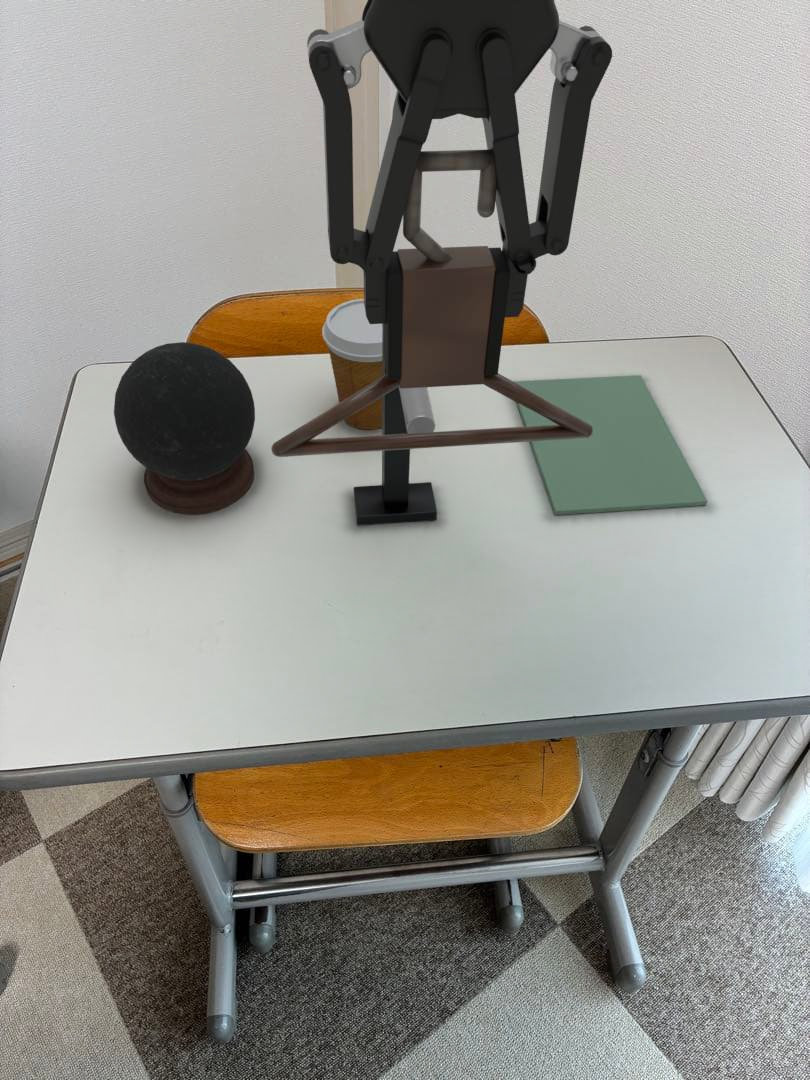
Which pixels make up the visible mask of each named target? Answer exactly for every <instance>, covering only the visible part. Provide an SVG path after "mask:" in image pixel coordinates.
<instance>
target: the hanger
mask: <svg viewBox="0 0 810 1080" xmlns="http://www.w3.org/2000/svg"><path fill="white" fill-rule="evenodd" d="M462 171H479V180H478V181H479V182H478V192H477V204H476V211H477V213H478V215H479V216H480V217H481V218H484V219H485V218H487V219H488V218H490V217H492V216H493V214H494V212H495V209H496V191H497V183H496V175H495V168H494V161H493V156H492V152H491V150H490V149H489V150H488V149H457V150H456V149H455V150H452V149H451V150H421V152H420V156H419V159H418V163H417V167H416V170H415V174H414V177H413V181H412V185H411V188H410V192H409V195H408V199H407V203H406V206H405V210H404V213H403V217H402V234H403V237H404V238H405V240H407V241H408V242H409V243H410V244H411V245H412V246H413V247H414V248H398V249H397V250H396V251H397V255H398V259H399V263H400V268H401V272H402V275H403V296H402V348H401V380H393V381H388V378H387V374H386V375H385V376H383V377H381V378H380V379H378V380H376V381H375V382H373V383H371V384H370V385H368V386H367V387H365V388H363V389H362V390H360V391H358V392H357V393H355V394H353V395H352V396H350V397H349V398H347V399H345V400H344V401H342V402H340V403H339V402H338V403H337V404H335V405H334V406H332V407H330V408H329V409H327V410H325V411H324V412H322V413H321V414H319V415H317V416H316V417H314V418H312V419H311V420H309V421H308V422H305V423H304V424H302V425H301V426H300V427H297V428H296V429H295V430H293V431H292V432H290V433H288V434H286V435H285V436H283V437H281V438H280V439H278V440H276V441H275V442H273V444H272V445H271V453H272V454H273V455H274V456H275V457H276V458H288V457H302V456H318V455H320V456H321V455H334V454H335V455H336V454H337V455H338V454H350V453H351V454H352V453H366V452H367V453H368V452H380V451H381V452H382V451H386V450H402V449H410V450H415V449H417V450H419V449H432V448H433V449H434V448H450V447H464V446H466V447H467V446H482V445H497V444H498V445H499V444H514V443H530V442H532V441H548V440H564V439H581V438H588V437H590V436H591V435H592V433H593V427H592V426H591V425H590V424H589V423H587V422H585V421H583V420H581V419H580V418H578V417H576V416H574V415H572V414H571V413H569V412H567V411H565V410H563V409H562V408H560V407H558V406H556V405H554V404H553V403H551V402H549V401H547V400H545V399H544V398H542V397H540V396H538V395H536V394H535V393H533V392H531V391H529V390H527V389H526V388H524V387H522V386H520V385H518V384H517V383H515V382H514V381H513V380H511V379H509V378H507V376H504V375H502V374H500V373H499V372H498V375H486V376H485V374H484V373H485V364H486V355H487V346H488V337H489V328H490V319H491V309H492V300H493V291H494V282H495V273H496V266H495V263H494V260H493V258H492V255H491V253H490V250H489V248H490V247H489V246H488V245H474V246H450V247H449V246H447V247H446V246H445V247H442V245H440V244H439V243H438V242H437V241H436V240H435V239H434V238H432V237H431V236H430V235H429V234H428V233H427V232H426V231H425V230H424V229H423V228H422V227H421V223H422V222H421V221H422V220H421V219H422V195H423V194H422V190H423V173H428V172H430V173H431V172H433V173H434V172H462ZM477 385H478V386H479V385H484V386H485V387H487V388H489V389H491V390H493V391H495V392H497V393H499V394H500V395H502V396H504V397H506V398H507V399H509V400H511V401H513V402H515V403H516V404H517V403H519V404H521V405H523V406H524V407H526V408H528V409H530V410H532V411H534V412H535V413H537V414H539V415H541V416H543V417H545V418H547V419H548V420H550V421H552V422H554V423H556V424H558V425H542V426H525V425H524V426H509V427H495V428H493V427H492V428H477V429H461V430H459V429H458V430H445V431H443V430H441V431H434V432H425V433H408V434H391V435H382V434H377V435H362V436H361V435H360V436H359V435H358V436H344V437H343V436H341V437H327V438H325V437H324V438H316V437H318V436H319V435H321V434H322V433H325V432H326V431H328V430H329V429H331V428H333V427H335V426H336V425H337V424H339V423H341V422H343V421H345V420H344V419H346V418H347V417H349V416H351V415H352V414H354V413H356V412H357V411H359V410H361V409H362V408H364V407H366V406H367V405H369V404H371V403H372V402H374V401H376V400H377V399H379V398H381V397H382V396H384V395H386V394H387V393H389V392H391V391H392V390H394V389H396V388H397V387H399V386H400V388H401V389H404V388H422V387H427V388H437V387H456V386H457V387H458V386H477Z"/></svg>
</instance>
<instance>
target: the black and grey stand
mask: <svg viewBox="0 0 810 1080" xmlns="http://www.w3.org/2000/svg"><path fill="white" fill-rule="evenodd" d="M386 374H387V372H386V366H385V360H384V355H383V324H382V377H383V376H385V375H386ZM435 429H436V423H435V417H434V413H433V409H432V404H431V398H430V395H429V391H428V387H422V388H404V389H401V388H400V386H399V387H397V388H396V389H394V390H392V391H391V392H389V393H387V394H386V395H384V396H382V427H381V435H391V434H408V433H425V432H435ZM410 462H411V449H402V450H386V451H381V484H378V485H361V486H353V501H354V509H355V510H354V511H355V520H356V521H355V522H356V526H365V525H381V524H394V523H395V524H396V523H411V522H427V521H437V519H438V518H437V517H438V510H437V504H436V499H435V495H434V494H435V493H434V490H433V483H432V482H431V481H427V482H411V483H410V465H411V463H410Z"/></svg>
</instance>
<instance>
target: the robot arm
mask: <svg viewBox="0 0 810 1080" xmlns="http://www.w3.org/2000/svg"><path fill="white" fill-rule="evenodd" d="M556 5H557V4H556V3H555V0H367V1H366V3H365V5H364V8H363V11H362V14H361V15H362V16H361V20H359V21H356V22H354V23H351V24H350V25H346V26H344V27H342V28H340V29H337V30H335V31H333V32H330V33H329V31H327V30H326V29H321V28H320V29H315V30H313V31H312V32H310V34H309V36H308V38H307V41H306V46H307V57H308V64H309V68H310V71H311V74H312V77H313V79H314V82H315V84H316V87H317V90H318V92H319V95H320V98H321V99H322V111H323V112H322V113H323V137H324V138H323V139H324V140H323V141H324V164H325V166H324V169H325V190H326V192H325V194H326V219H327V221H326V222H327V237H328V245H329V254H330V258H331V259H332V261H333V262H334V263H336V264H338V265H346V264H348V263H350V264H353V265H356V266H358V267H360V268H361V269H362V270H363V271H362V272H363V275H362V276H363V299H364V306H365V312H366V317H367V319H368V321H369V323H370V324H383V355H384V360H385V366H386V372H387V378H388V381H393V380H401V348H402V296H403V275H402V272H401V268H400V263H399V259H398V255H397V250H396V251H394V249H395V245H396V243H397V239H398V235H399V231H400V227H401V224H402V222H403V213H404V210H405V206H406V203H407V199H408V195H409V192H410V188H411V185H412V181H413V177H414V174H415V170H416V167H417V163H418V159H419V156H420V152H421V151H422V149H423V145H424V144H425V143H426V141H427V140H428V136H429V134H430V129H431V125H432V122H433V120H443V119H446V118H450V117H453V116H455V115H463V116H466V117H470V118H474V119H481V120H482V123H483V130H484V137H485V142H486V143H485V144H486V148H487V149H486V150H489V149H490V150H491V152H492V156H493V161H494V168H495V175H496V183H497V191H496V201H495V208H496V214H497V220H498V226H499V231H500V239H501V242H502V247H488V248H489V250H490V253H491V255H492V258H493V260H494V263H495V266H496V273H495V282H494V291H493V300H492V309H491V319H490V328H489V337H488V346H487V355H486V364H485V373H484V374H485V376H486V375H498V373H499V368H500V359H501V352H502V344H503V336H504V335H503V334H504V327H505V320H506V318H519V316H520V315H521V313H522V311H523V310H524V304H525V297H526V290H527V283H528V276H529V275H530V274H531V273H533V272H534V271H535V269H536V267H537V260H536V259H538V258H540V257H542V256H546V255H548V254H549V255H550V256H559V255H562V254H563V253H565V251H566V250H567V249H568V246H569V243H570V238H571V237H570V236H571V230H572V224H573V219H574V212H575V206H576V200H577V194H578V187H579V181H580V175H581V170H582V169H581V168H582V163H583V157H584V151H585V144H586V138H587V132H588V126H589V120H590V113H591V108H592V102H593V99H594V97H595V95H596V93H597V91H598V88H599V87H600V84H601V83H602V80H603V79H604V76H605V75H606V72H607V70H608V68H609V66H610V63H611V62H612V58H613V49H612V47H611V45H610V44H609V43H608V42H607V40H606V39H604V37H603V36H602V35H601V34H600V33H599V32H598V31H597V30H596V29H594V27H593V26H591V25H584V26H581V27H577V26H574V25H571V24H569V23H568V22H567V23H566V22H565V21H562V20H560V16H559V12H558V9H557V6H556ZM549 50H550V51H551V57H550V63H549V69H550V71H551V73H552V74H553V76H554V77H555V78H554V81H553V87H552V92H551V99H550V107H549V114H548V120H547V121H548V122H547V129H546V138H545V145H544V153H543V161H542V168H541V176H540V184H539V191H538V199H537V206H536V207H537V208H536V216H535V221H533V222H531V223H530V218H529V212H528V203H527V196H526V188H525V180H524V172H523V163H522V155H521V148H520V147H521V146H520V140H519V139H520V138H519V135H520V126H519V116H518V110H517V102H516V101H517V100H516V94H517V92H518V91H519V89H520V88H521V87H522V86H523V84H524V83H525V81H526V80H527V79H528V78H529V76H530V75H531V73H533V71H534V70H535V68H536V67H537V66H538V64H539V63H540V61H541V60H542V59H543V58H544V56H545V55H546V53H548V51H549ZM369 52H372V54H373V55H374V56H375V58H376V60H377V61H378V63H379V65H380V66H381V68H382V69H383V70H384V72H385V74H386V75H387V77H388V78H389V79H390V81H391V83H392V84H393V87H395V89H396V94H395V98H394V102H393V107H392V116H391V122H390V127H389V131H388V135H387V139H386V143H385V147H384V151H383V154H382V159H381V163H380V166H379V172H378V175H377V179H376V182H375V183H376V184H375V187H374V191H373V194H372V195H373V196H372V200H371V204H370V207H369V211H368V216H367V220H366V224H365V227H364V228H365V229H364V230H360V229H357V228H355V226H354V225H355V222H354V221H355V219H354V218H355V217H354V216H355V215H354V211H355V210H354V151H353V149H354V148H353V147H354V146H353V144H354V143H353V142H354V141H353V110H352V101H351V97H350V92H349V90H350V89H352V88H355V87H356V86H357V85H358V84H359V83H360V81H361V79H362V62H363V59H364V57H365V56H366V55H367V54H369Z"/></svg>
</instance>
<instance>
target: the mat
mask: <svg viewBox="0 0 810 1080" xmlns="http://www.w3.org/2000/svg"><path fill="white" fill-rule="evenodd" d="M513 382H515V383H517V384H518V385H520V386H522V387H524V388H526V389H527V390H529V391H531V392H533V393H535V394H536V395H538V396H540V397H542V398H544V399H545V400H547V401H549V402H551V403H553V404H554V405H556V406H558V407H560V408H562V409H563V410H565V411H567V412H569V413H571V414H572V415H574V416H576V417H578V418H580V419H581V420H583V421H585V422H587V423H589V424H590V425H591V426H592V427H593V433H592V435H591V436H590V437H588V438H581V439H564V440H548V441H532V442H529V443H530V446H531V449H532V451H533V455H534V457H535V461H536V464H537V467H538V469H539V472H540V475H541V478H542V481H543V484H544V487H545V490H546V493H547V496H548V499H549V502H550V505H551V507H552V510H553V513H554V516H562V515H575V514H591V513H592V514H593V513H606V512H607V513H608V512H620V511H621V512H623V511H638V510H639V511H640V510H652V509H654V510H655V509H669V508H682V507H685V508H686V507H697V506H698V507H700V506H706V505H707V503H708V499H707V497H706V496H705V494H704V492H703V490H702V489H701V488H702V487H701V486H700V484H699V482H698V481H697V479H696V476H695V475H694V473H693V471H692V469H691V468H690V465H689V463H688V461H687V460H686V457H685V456H684V454H683V452H682V451H681V448H680V446H679V445H678V443H677V441H676V440H675V436H674V435H673V433H672V431H671V429H670V428H669V426H668V424H667V422H666V420H665V419H664V417H663V415H662V413H661V411H660V409H659V407H658V405H657V403H656V402H655V399H654V397H653V396H652V394H651V392H650V390H649V388H648V387H647V385H646V383H645V380H644V379H643V378H642V375H640V374H636V375H619V376H618V375H617V376H615V375H614V376H598V377H596V376H595V377H594V376H593V377H577V378H576V377H575V378H555V379H537V380H536V379H535V380H517V381H515V380H514V381H513ZM516 405H517V407H518V411H519V414H520V417H521V420H522V422H523V426H524V427H525V426H542V425H558V424H556V423H554V422H552V421H550V420H548V419H547V418H545V417H543V416H541V415H539V414H537V413H535V412H534V411H532V410H530V409H528V408H526V407H524V406H523V405H521V404H519V403H517V402H516Z"/></svg>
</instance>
